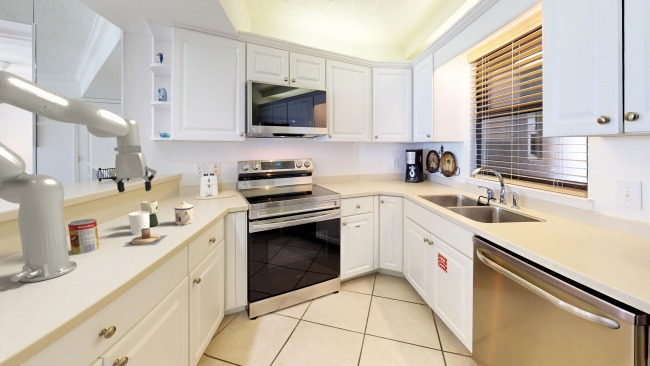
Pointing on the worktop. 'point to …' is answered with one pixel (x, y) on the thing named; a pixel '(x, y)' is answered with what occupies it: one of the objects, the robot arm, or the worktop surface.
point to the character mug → (151, 211)
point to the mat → (145, 244)
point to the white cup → (139, 221)
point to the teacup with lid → (184, 214)
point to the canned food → (83, 236)
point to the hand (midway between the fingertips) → (135, 191)
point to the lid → (145, 237)
